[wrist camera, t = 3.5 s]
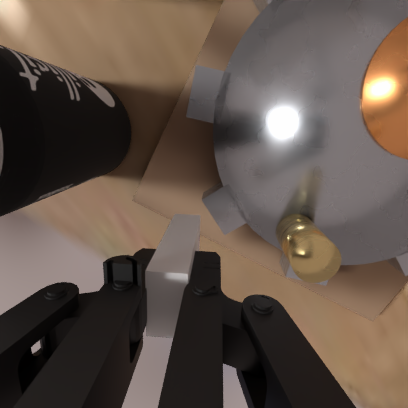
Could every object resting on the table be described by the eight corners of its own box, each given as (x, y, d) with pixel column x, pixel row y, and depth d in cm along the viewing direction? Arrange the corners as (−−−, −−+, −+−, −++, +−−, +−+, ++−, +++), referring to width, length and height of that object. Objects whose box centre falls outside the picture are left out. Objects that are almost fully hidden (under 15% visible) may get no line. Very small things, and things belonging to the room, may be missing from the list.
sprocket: (298, -143, 14) (356, -338, 8) (599, 53, 15) (827, 8, 10) (142, 192, 19) (109, 220, 13) (377, 312, 21) (438, 383, 15)
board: (295, -150, 15) (301, -173, 14) (591, 44, 16) (620, 38, 15) (136, 196, 21) (131, 201, 19) (366, 313, 22) (374, 323, 21)
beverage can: (153, 127, 19) (54, 128, 8) (98, 192, 21) (-54, 273, 9) (80, 58, 18) (-162, -63, 7) (27, 131, 20) (-242, 136, 8)
